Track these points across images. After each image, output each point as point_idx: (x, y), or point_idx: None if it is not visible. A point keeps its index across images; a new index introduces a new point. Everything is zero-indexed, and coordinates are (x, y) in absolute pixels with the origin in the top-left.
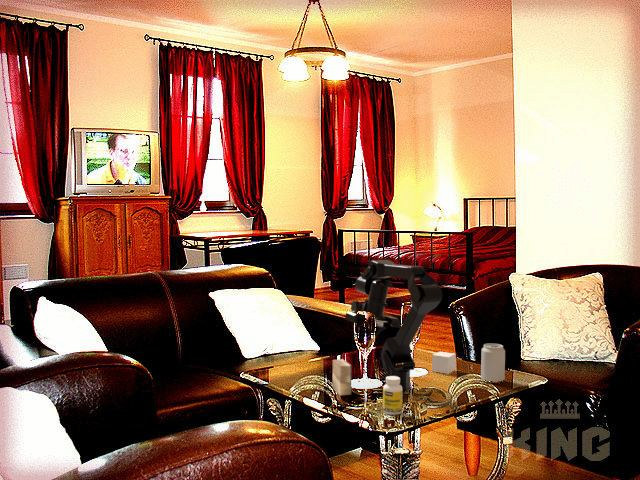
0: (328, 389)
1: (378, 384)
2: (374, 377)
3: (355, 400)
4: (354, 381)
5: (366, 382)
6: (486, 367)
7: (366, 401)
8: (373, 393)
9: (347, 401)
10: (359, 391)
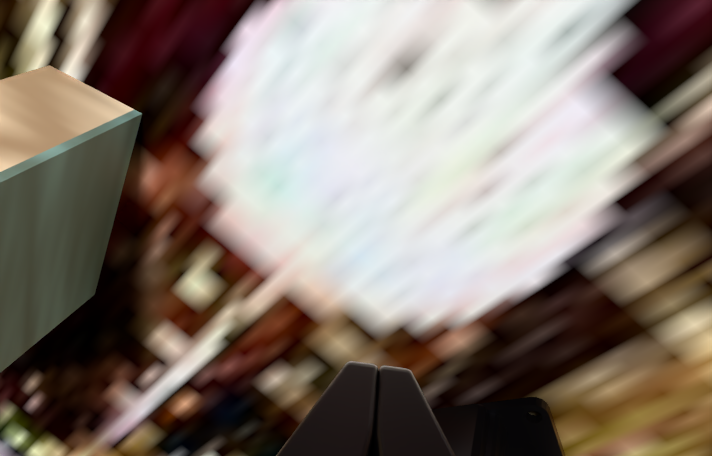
0: (2, 71)
1: (468, 281)
2: (670, 77)
3: (56, 389)
4: (355, 39)
5: (429, 155)
6: None
7: (105, 446)
8: (248, 391)
9: None
10: (191, 290)
